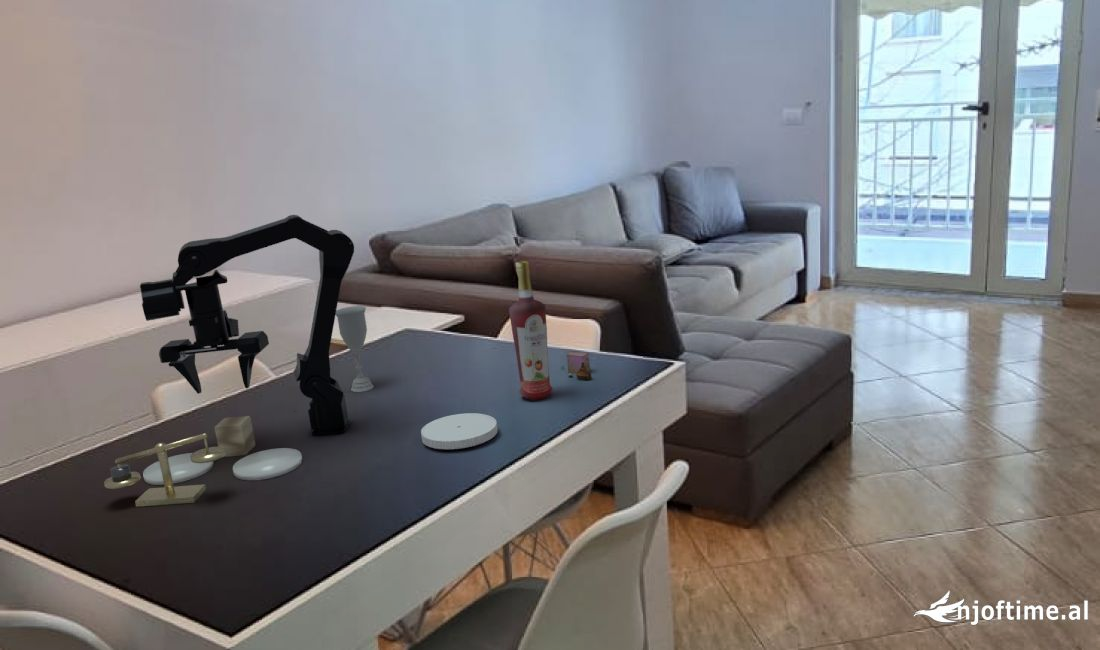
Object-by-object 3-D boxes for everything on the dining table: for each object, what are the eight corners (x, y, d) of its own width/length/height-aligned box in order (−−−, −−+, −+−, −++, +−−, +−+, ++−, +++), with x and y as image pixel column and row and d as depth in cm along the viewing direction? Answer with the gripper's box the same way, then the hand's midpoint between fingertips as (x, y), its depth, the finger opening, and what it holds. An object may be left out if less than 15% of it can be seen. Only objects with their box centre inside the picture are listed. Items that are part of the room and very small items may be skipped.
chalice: (370, 393, 203) (358, 313, 198) (341, 394, 204) (328, 315, 200) (382, 382, 210) (371, 305, 205) (354, 383, 211) (342, 306, 207)
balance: (238, 486, 159) (226, 426, 156) (226, 501, 154) (213, 438, 151) (119, 495, 161) (105, 435, 158) (103, 509, 155) (88, 448, 152)
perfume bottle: (552, 380, 201) (550, 360, 199) (582, 363, 210) (580, 344, 209) (599, 385, 194) (597, 365, 193) (628, 368, 203) (626, 349, 202)
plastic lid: (407, 445, 171) (405, 432, 171) (463, 420, 181) (461, 408, 180) (457, 460, 162) (455, 447, 161) (513, 434, 172) (512, 421, 171)
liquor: (526, 405, 185) (511, 268, 178) (513, 395, 192) (498, 263, 185) (560, 397, 188) (546, 261, 181) (545, 388, 195) (532, 257, 187)
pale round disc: (223, 455, 174) (222, 450, 174) (197, 482, 163) (196, 477, 163) (162, 460, 175) (161, 455, 175) (131, 487, 164) (130, 482, 163)
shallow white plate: (310, 450, 172) (309, 445, 172) (290, 477, 161) (289, 472, 161) (247, 455, 173) (246, 450, 173) (223, 482, 162) (222, 477, 161)
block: (255, 445, 179) (250, 415, 177) (246, 455, 174) (240, 425, 172) (230, 447, 179) (224, 417, 177) (220, 457, 174) (214, 427, 173)
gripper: (269, 294, 178) (284, 371, 182) (174, 305, 178) (191, 381, 182) (250, 308, 167) (267, 390, 171) (149, 319, 168) (168, 401, 172)
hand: (223, 390), depth 174 cm, fingers open, 9 cm apart
